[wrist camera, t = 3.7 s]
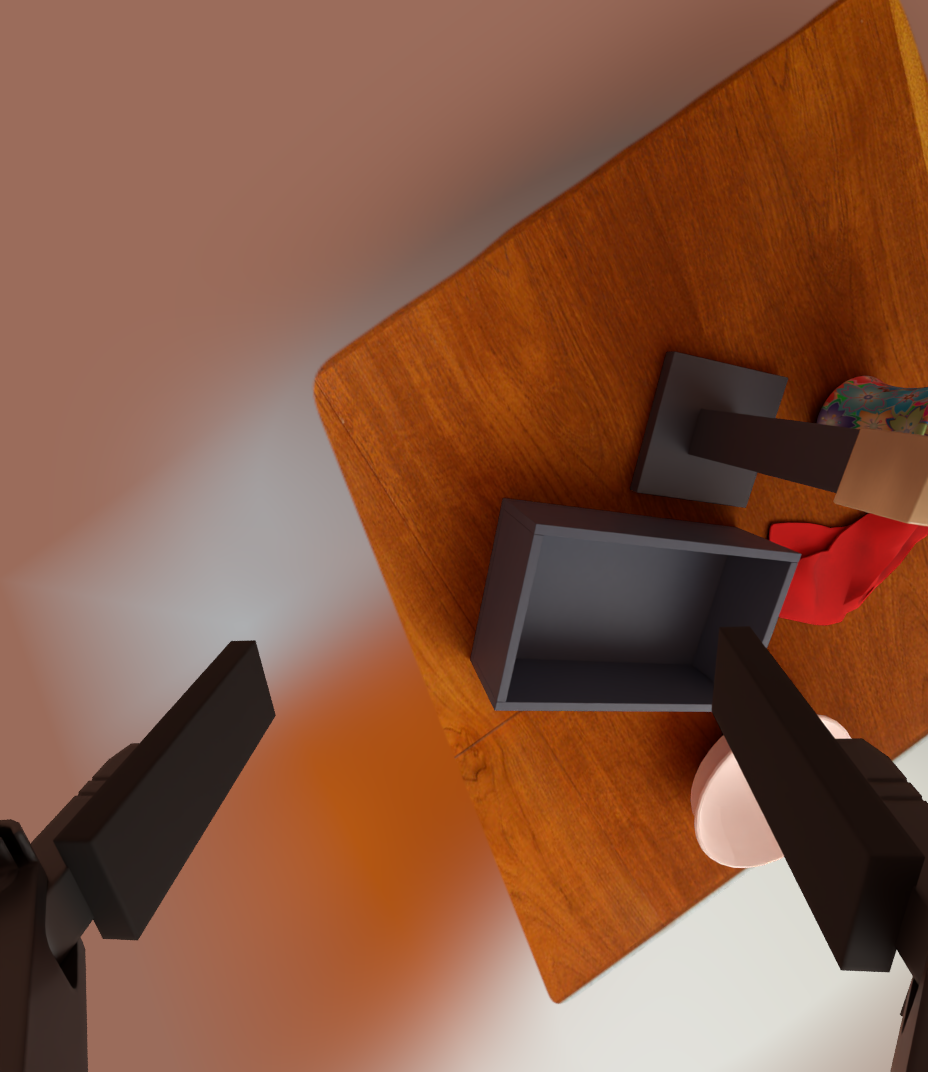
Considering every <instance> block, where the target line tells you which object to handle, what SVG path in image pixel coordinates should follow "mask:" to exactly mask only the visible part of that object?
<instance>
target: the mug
mask: <svg viewBox="0 0 928 1072" xmlns="http://www.w3.org/2000/svg"><path fill="white" fill-rule="evenodd" d="M816 424H823V425H831V426H839V427H846V428H854V429H861V428H871V429H879V430H887V431H895V432H903V433H910V434H918V435H926V436H928V387H924V388H900V387H894V386H890V385H887V384H885V383H883V382H882V381H881V380H879V379H877V378H874V377H871V376H860V377H855V378H852V379H850V380H848V381H846V382H844V383H843V384H841V385H840V386H839V387H837V388H836V389H835V390H834V391H833V392H832V393H831V394H830V396H829V397H828V398H827V400H826V401H825V403H824V404H823V406H822V408H821V410H820V413H819V416H818V419H817V423H816Z"/></svg>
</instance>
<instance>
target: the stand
mask: <svg viewBox="0 0 928 1072" xmlns="http://www.w3.org/2000/svg"><path fill="white" fill-rule="evenodd" d="M787 381H788V378H787V377H783V376H779V375H774V374H770V373H766V372H761V371H757V370H753V369H748V368H744V367H740V366H735V365H731V364H727V363H723V362H718V361H714V360H710V359H705V358H701V357H697V356H692V355H688V354H684V353H679V352H666V356H665V359H664V363H663V367H662V371H661V374H660V378H659V382H658V386H657V389H656V393H655V397H654V401H653V404H652V408H651V412H650V416H649V419H648V423H647V427H646V431H645V434H644V438H643V442H642V446H641V449H640V453H639V457H638V461H637V465H636V468H635V472H634V476H633V480H632V483H631V487H630V490H632V491H634V492H637V493H644V494H651V495H658V496H665V497H672V498H679V499H687V500H694V501H701V502H708V503H715V504H722V505H729V506H737V507H744V508H746V505H747V502H748V499H749V496H750V493H751V490H752V487H753V484H754V481H755V478H756V475H757V472H758V473H762V474H766V475H769V476H773V477H777V478H781V479H785V480H789V481H792V482H796V483H800V484H804V485H808V486H812V487H815V488H819V489H823V490H827V491H831V492H835V493H837V490H838V488H839V485H840V482H841V480H842V477H843V474H844V472H845V469H846V466H847V463H848V461H849V458H850V455H851V453H852V450H853V447H854V445H855V442H856V439H857V437H858V434H859V431H860V429H854V428H846V427H839V426H831V425H823V424H816V423H808V422H800V421H793V420H785V419H777V418H775V417H776V414H777V411H778V408H779V405H780V402H781V399H782V396H783V393H784V390H785V387H786V384H787Z"/></svg>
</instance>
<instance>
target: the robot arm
mask: <svg viewBox="0 0 928 1072" xmlns="http://www.w3.org/2000/svg"><path fill="white" fill-rule="evenodd" d="M711 711H712V713H713V715H714V717H715V719H716V721H717V723H718V725H719V727H720V729H721V731H722V733H723V735H724V737H725V739H726V741H727V743H728V745H729V747H730V749H731V751H732V753H733V755H734V757H735V759H736V761H737V763H738V765H739V767H740V769H741V771H742V773H743V775H744V777H745V779H746V781H747V783H748V785H749V787H750V789H751V791H752V793H753V795H754V797H755V799H756V801H757V803H758V805H759V807H760V809H761V811H762V813H763V815H764V817H765V819H766V821H767V823H768V825H769V827H770V829H771V831H772V833H773V835H774V837H775V839H776V841H777V843H778V845H779V847H780V849H781V851H782V853H783V855H784V857H785V859H786V861H787V863H788V865H789V867H790V869H791V871H792V873H793V875H794V877H795V879H796V881H797V883H798V885H799V887H800V889H801V891H802V893H803V895H804V897H805V899H806V901H807V903H808V905H809V907H810V909H811V911H812V913H813V915H814V917H815V919H816V921H817V923H818V925H819V927H820V929H821V931H822V933H823V935H824V937H825V939H826V941H827V943H828V945H829V947H830V949H831V951H832V953H833V955H834V957H835V959H836V961H837V963H838V965H839V967H840V969H841V970H847V971H849V970H850V971H871V972H890V969H891V965H892V962H893V959H894V956H895V953H896V950H898V952H899V954H900V956H901V957H902V959H903V960H904V962H905V964H906V966H907V967H908V969H909V971H910V972H911V974H912V975H913V978H912V981H911V984H910V987H909V990H908V993H907V995H906V999H905V1001H904V1004H903V1007H902V1010H901V1013H900V1015H901V1016H903V1018H902V1023H901V1027H900V1031H899V1036H898V1040H897V1045H896V1049H895V1054H894V1058H893V1063H892V1068H891V1072H928V803H927V802H926V801H923V800H922V796H921V795H920V794H919V792H918V791H917V790H916V789H915V788H914V787H913V785H912V784H911V783H908V782H907V778H906V777H905V776H904V775H903V773H902V772H901V771H900V770H899V769H898V768H897V766H896V765H895V764H894V763H893V762H892V761H891V759H890V758H889V757H888V756H886V755H885V754H884V753H882V752H881V751H879V750H878V749H876V748H875V747H874V746H872V745H871V744H869V743H868V742H866V741H865V740H864V739H862V738H860V739H835V738H834V736H833V735H832V734H831V732H830V731H829V730H828V729H827V727H826V726H825V725H824V723H823V722H822V721H821V719H820V718H819V717H818V715H817V714H816V713H815V711H814V710H813V709H812V708H811V706H810V705H809V704H808V702H807V701H806V700H805V698H804V697H803V696H802V694H801V693H800V692H799V690H798V689H797V688H796V687H795V685H794V684H793V683H792V681H791V680H790V679H789V677H788V676H787V675H786V673H785V672H784V671H783V669H782V668H781V667H780V666H779V664H778V663H777V662H776V660H775V659H774V658H773V656H772V655H771V654H770V652H769V651H768V650H767V648H766V647H765V646H764V644H763V643H762V642H761V641H760V639H759V638H758V637H757V635H756V634H755V633H754V631H753V630H752V629H751V627H750V626H741V627H719V637H718V647H717V658H716V668H715V679H714V689H713V700H712V710H711ZM274 717H275V711H274V708H273V704H272V700H271V696H270V693H269V689H268V685H267V682H266V678H265V674H264V671H263V667H262V663H261V659H260V656H259V652H258V648H257V645H256V641H231V642H230V643H229V644H228V645H227V646H226V647H225V649H224V650H223V651H222V652H221V653H220V654H219V655H218V656H217V658H216V659H215V660H214V661H213V662H212V663H211V664H210V665H209V666H208V668H207V669H206V670H205V671H204V672H203V673H202V674H201V675H200V677H199V678H198V679H197V680H196V681H195V682H194V683H193V684H192V685H191V687H190V688H189V689H188V690H187V691H186V692H185V693H184V694H183V695H182V697H181V698H180V699H179V700H178V701H177V702H176V703H175V705H174V706H173V707H172V708H171V709H170V710H169V711H168V712H167V713H166V714H165V716H164V717H163V718H162V719H161V720H160V721H159V722H158V723H157V725H156V726H155V727H154V728H153V729H152V730H151V731H150V732H149V733H148V735H147V736H146V737H145V738H144V739H143V740H142V741H141V743H134V744H130V745H129V746H127V747H126V748H124V749H123V750H122V751H120V752H119V753H117V754H116V755H115V756H113V757H112V758H111V759H109V760H108V761H107V762H106V763H105V764H104V765H103V766H102V768H100V770H99V771H98V772H97V773H96V774H95V775H94V776H93V777H92V778H93V779H92V781H88V782H87V784H86V785H85V786H84V787H83V788H82V789H81V790H80V791H79V794H78V796H75V797H73V799H72V800H71V801H70V802H69V803H68V804H67V805H66V806H65V807H64V808H63V809H62V810H61V811H60V813H59V814H58V815H57V816H56V817H55V818H54V819H53V820H52V821H51V822H50V823H49V824H48V825H47V826H46V828H45V829H44V830H43V831H42V832H41V833H40V834H39V835H38V836H37V837H36V838H35V839H34V840H33V842H32V843H31V844H30V842H29V840H28V838H27V837H26V835H25V833H24V831H23V829H22V827H21V825H20V824H19V823H18V822H16V821H13V820H11V819H10V820H0V1072H88V1061H87V1060H88V1058H87V1014H86V1013H87V1012H86V964H85V948H84V945H83V942H82V940H81V938H80V937H81V935H82V934H83V933H84V931H85V930H86V928H87V927H88V926H89V924H90V923H91V921H92V920H94V922H95V924H96V926H97V928H98V930H99V932H100V934H101V936H102V938H103V939H121V940H138V939H139V938H140V936H141V934H142V933H143V931H144V929H145V928H146V926H147V924H148V923H149V921H150V920H151V918H152V916H153V915H154V913H155V911H156V910H157V908H158V907H159V905H160V903H161V901H162V900H163V898H164V897H165V895H166V893H167V892H168V890H169V888H170V887H171V885H172V884H173V882H174V880H175V879H176V877H177V876H178V874H179V872H180V871H181V869H182V867H183V866H184V864H185V862H186V861H187V859H188V858H189V856H190V854H191V853H192V851H193V849H194V847H195V846H196V844H197V843H198V841H199V840H200V838H201V836H202V835H203V833H204V831H205V830H206V828H207V827H208V824H209V823H210V822H211V820H212V818H213V817H214V815H215V814H216V812H217V810H218V809H219V807H220V805H221V804H222V802H223V800H224V799H225V797H226V796H227V794H228V792H229V791H230V789H231V787H232V786H233V784H234V782H235V781H236V779H237V778H238V776H239V774H240V773H241V771H242V769H243V768H244V766H245V765H246V763H247V761H248V760H249V758H250V756H251V755H252V753H253V752H254V750H255V748H256V747H257V745H258V743H259V742H260V740H261V738H262V737H263V735H264V733H265V732H266V730H267V729H268V727H269V725H270V724H271V722H272V720H273V719H274Z"/></svg>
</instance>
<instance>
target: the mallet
mask: <svg viewBox="0 0 928 1072" xmlns="http://www.w3.org/2000/svg"><path fill="white" fill-rule="evenodd" d="M834 503H836V504H840V505H843V506H847V507H850V508H854V509H857V510H861V511H865V512H868V513H872V514H875V515H879V516H882V517H886V518H889V519H893V520H897V521H900V522H904V523H908V524H914V525H921V526H928V436H926V435H918V434H910V433H903V432H895V431H887V430H879V429H871V428H861V429H860V431H859V434H858V437H857V439H856V442H855V445H854V447H853V450H852V453H851V455H850V458H849V461H848V463H847V466H846V469H845V472H844V474H843V477H842V480H841V482H840V485H839V488H838V490H837V493H836V496H835V498H834Z"/></svg>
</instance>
